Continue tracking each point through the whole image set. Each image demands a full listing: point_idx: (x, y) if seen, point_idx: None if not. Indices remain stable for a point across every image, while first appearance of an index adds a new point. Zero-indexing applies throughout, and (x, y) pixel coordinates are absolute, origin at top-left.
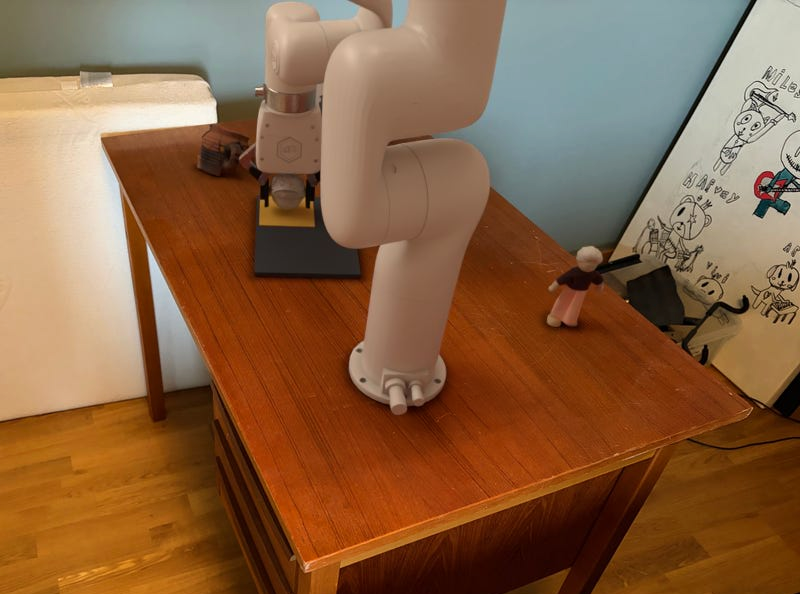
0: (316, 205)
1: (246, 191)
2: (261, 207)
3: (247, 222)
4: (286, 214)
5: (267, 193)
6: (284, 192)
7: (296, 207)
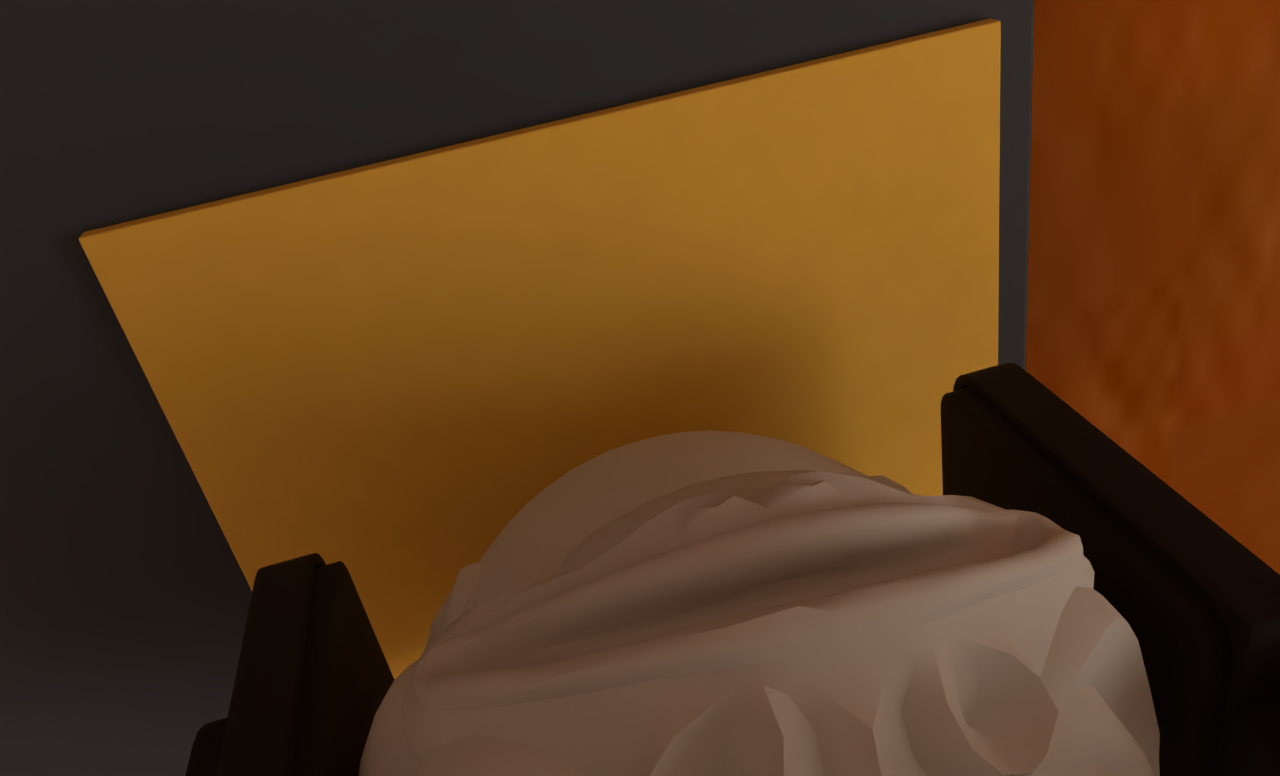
0: None
1: None
2: None
3: (1103, 163)
4: (631, 415)
5: (1131, 512)
6: (848, 538)
7: None
